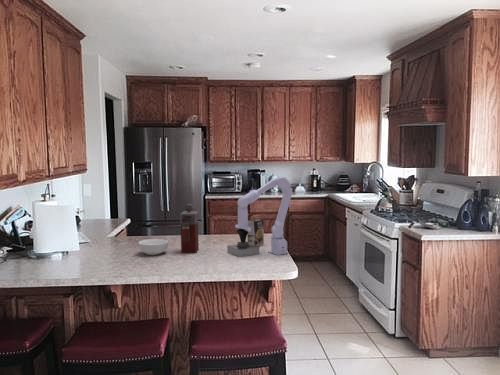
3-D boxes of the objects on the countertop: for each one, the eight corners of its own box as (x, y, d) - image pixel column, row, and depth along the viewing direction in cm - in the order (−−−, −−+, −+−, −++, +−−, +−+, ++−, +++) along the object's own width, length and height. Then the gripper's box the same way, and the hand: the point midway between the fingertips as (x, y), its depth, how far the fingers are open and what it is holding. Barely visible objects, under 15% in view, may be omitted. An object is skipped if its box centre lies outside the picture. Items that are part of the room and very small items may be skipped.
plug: (248, 251, 244) (248, 242, 244) (241, 252, 241) (241, 243, 241) (244, 250, 247) (244, 240, 247) (237, 251, 245) (237, 241, 244)
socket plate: (259, 254, 242) (259, 247, 242) (239, 257, 235) (239, 250, 235) (246, 249, 254) (246, 242, 254) (227, 252, 247) (227, 245, 247)
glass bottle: (180, 254, 244) (179, 205, 242) (183, 249, 255) (182, 203, 253) (195, 254, 244) (194, 205, 242) (198, 249, 255) (197, 203, 253)
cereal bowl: (161, 257, 236) (161, 245, 236) (133, 256, 240) (133, 244, 239) (172, 250, 253) (172, 239, 252) (146, 249, 256) (146, 238, 256)
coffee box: (255, 247, 259) (255, 221, 258) (247, 246, 263) (246, 220, 262) (264, 244, 266) (264, 219, 265) (255, 243, 270) (255, 218, 269)
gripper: (230, 217, 247) (230, 240, 248) (243, 220, 235) (243, 245, 236) (240, 216, 251) (241, 239, 252) (254, 219, 238) (254, 243, 240)
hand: (243, 242), depth 244 cm, fingers closed, pressing on plug
